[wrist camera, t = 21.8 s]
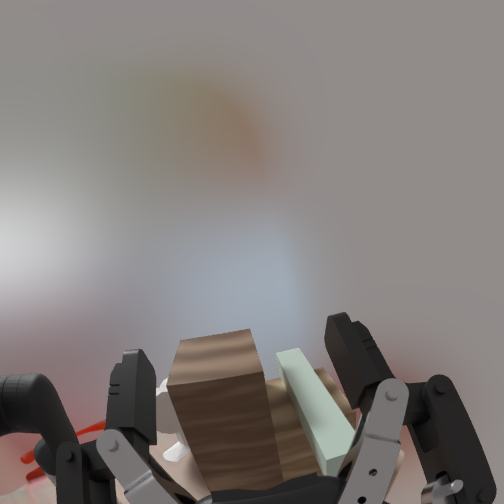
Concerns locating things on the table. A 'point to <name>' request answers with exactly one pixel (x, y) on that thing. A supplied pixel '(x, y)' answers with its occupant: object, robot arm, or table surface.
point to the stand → (240, 414)
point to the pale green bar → (316, 411)
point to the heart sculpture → (169, 424)
